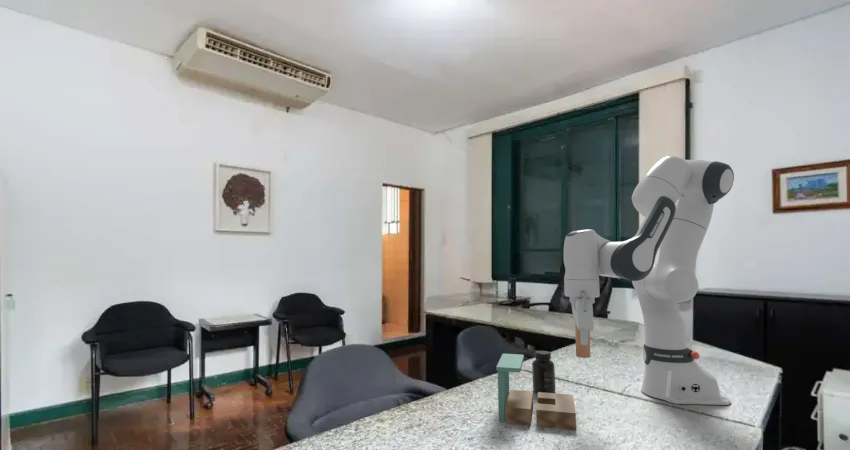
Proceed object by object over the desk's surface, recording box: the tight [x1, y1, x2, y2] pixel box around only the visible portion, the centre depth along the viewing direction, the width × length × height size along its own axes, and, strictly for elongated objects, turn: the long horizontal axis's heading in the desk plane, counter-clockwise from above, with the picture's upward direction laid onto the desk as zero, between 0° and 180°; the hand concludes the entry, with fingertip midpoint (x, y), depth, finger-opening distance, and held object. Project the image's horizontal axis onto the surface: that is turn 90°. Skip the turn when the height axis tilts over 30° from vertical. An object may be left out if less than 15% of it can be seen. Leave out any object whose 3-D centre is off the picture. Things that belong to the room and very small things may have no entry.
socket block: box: [505, 389, 577, 431], centre depth 113 cm, size 17×14×4 cm
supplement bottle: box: [531, 350, 556, 394], centre depth 133 cm, size 7×7×12 cm
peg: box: [574, 318, 591, 359], centre depth 113 cm, size 4×4×10 cm
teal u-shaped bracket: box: [495, 353, 525, 423], centre depth 115 cm, size 6×15×14 cm, turn 164°
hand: (583, 342), depth 113 cm, fingers closed on peg, 4 cm apart
